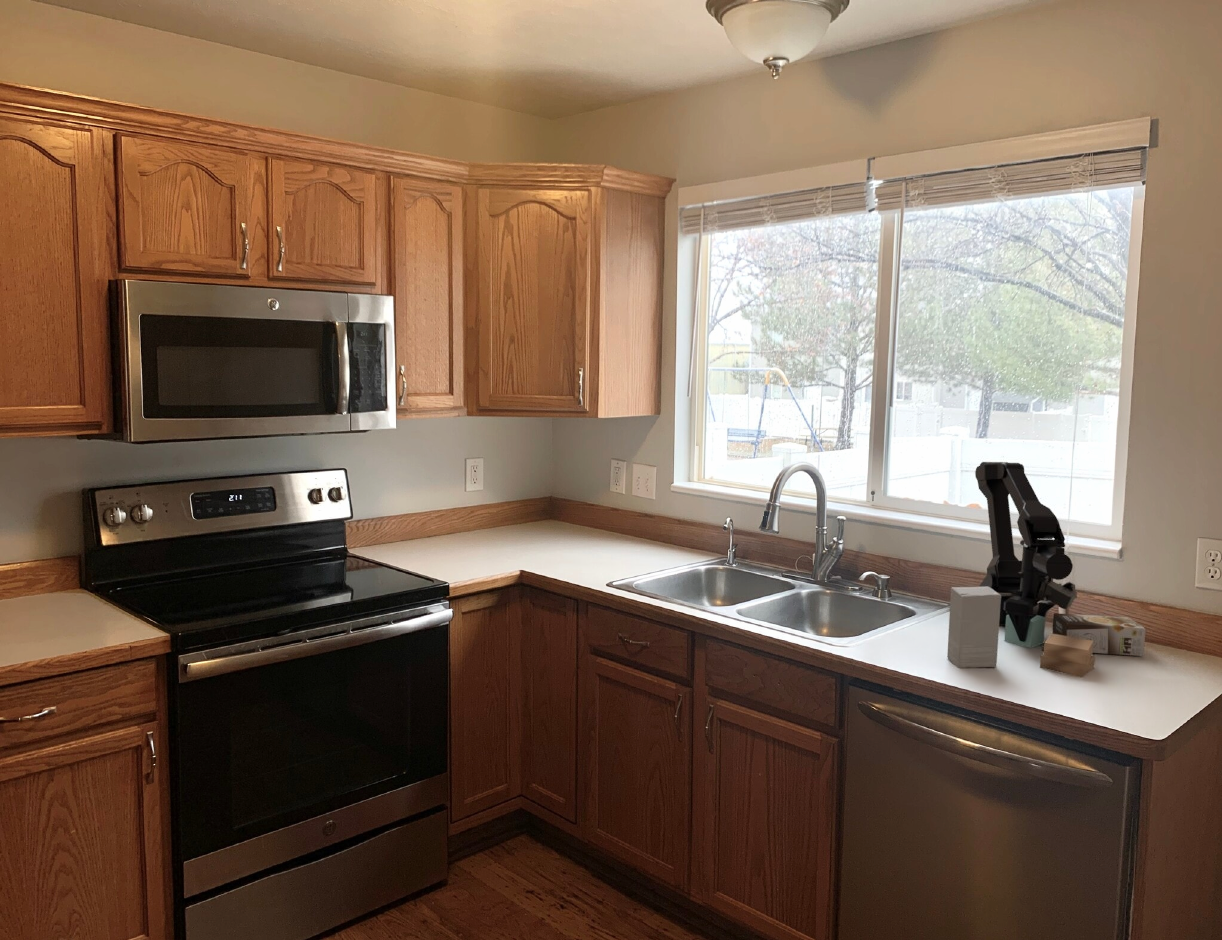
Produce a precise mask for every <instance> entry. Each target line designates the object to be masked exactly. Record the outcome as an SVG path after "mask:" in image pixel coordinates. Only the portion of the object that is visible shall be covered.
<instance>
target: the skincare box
mask: <svg viewBox="0 0 1222 940" xmlns="http://www.w3.org/2000/svg"><path fill="white" fill-rule="evenodd" d="M1000 604H1001V595H1000V594H999V593H997V592H996V591H994V590H993V589H992V588H990V587H988V586H987V587H980V586H960V587H959V586H958V587H957V586H953V587H951V588H950V602H949V619H948V620H949V621H948V635H947V636H948V641H947V653H946V654H947V659H948V660H949V661H950V662H951V663H952V664H953V665H955V666H956V667H957V668H959V669H960V668H961V669H962V668H963V669H965V668H996V667H997V663H998V647H999V635H1000V634H999V632H1000V625H999V618H1000Z"/></svg>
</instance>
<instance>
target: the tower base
mask: <svg viewBox="0 0 1222 940" xmlns="http://www.w3.org/2000/svg"><path fill="white" fill-rule="evenodd" d="M1043 655H1044V653H1043V654H1040V661H1039V668H1040V669H1043V670H1047V671H1048V670H1049V671H1052V672H1056V673H1061V674H1064V675H1065V674H1066V675H1070V676H1073V677H1078V678H1082V677H1084V676H1085V675H1087V674H1088V673H1089V672H1091V671H1092V670H1093V669H1095V661H1096V656H1095V655H1092V656H1091V658H1090V660H1089V662H1088V664H1087V665H1084V664H1079V663H1074V662H1068V661H1063V660H1058V659H1053V658H1047V657H1043Z"/></svg>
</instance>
